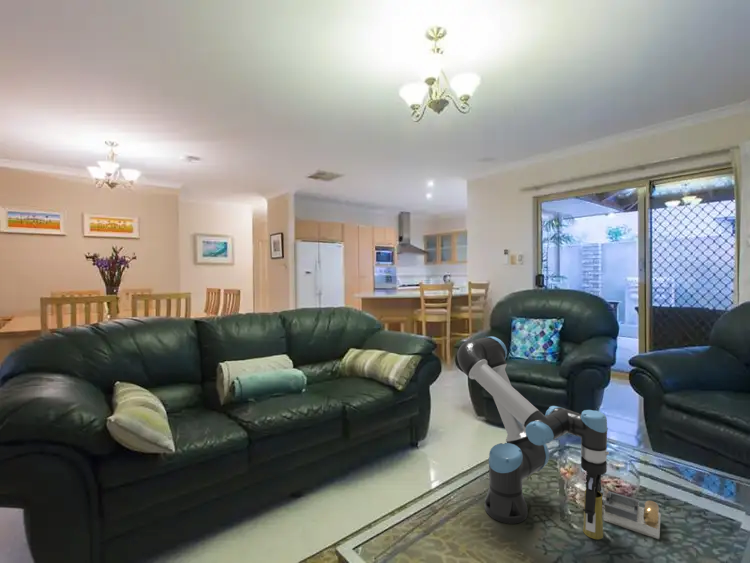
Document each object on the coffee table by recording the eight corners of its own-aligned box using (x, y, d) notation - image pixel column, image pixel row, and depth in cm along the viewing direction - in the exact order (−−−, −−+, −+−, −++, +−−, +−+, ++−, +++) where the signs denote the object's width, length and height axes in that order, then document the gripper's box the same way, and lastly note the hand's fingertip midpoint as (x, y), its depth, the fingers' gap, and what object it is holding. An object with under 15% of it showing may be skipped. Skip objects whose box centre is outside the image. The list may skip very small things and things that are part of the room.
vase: (606, 540, 130) (606, 499, 129) (586, 538, 131) (586, 497, 130) (599, 528, 136) (600, 488, 135) (580, 526, 137) (580, 486, 136)
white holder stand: (603, 520, 139) (603, 500, 139) (607, 505, 147) (607, 486, 147) (659, 539, 129) (659, 518, 129) (660, 522, 137) (660, 502, 137)
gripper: (601, 477, 120) (600, 546, 122) (611, 447, 138) (610, 508, 139) (574, 469, 125) (574, 536, 127) (587, 441, 142) (586, 500, 144)
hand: (593, 521), depth 133 cm, fingers open, 9 cm apart
